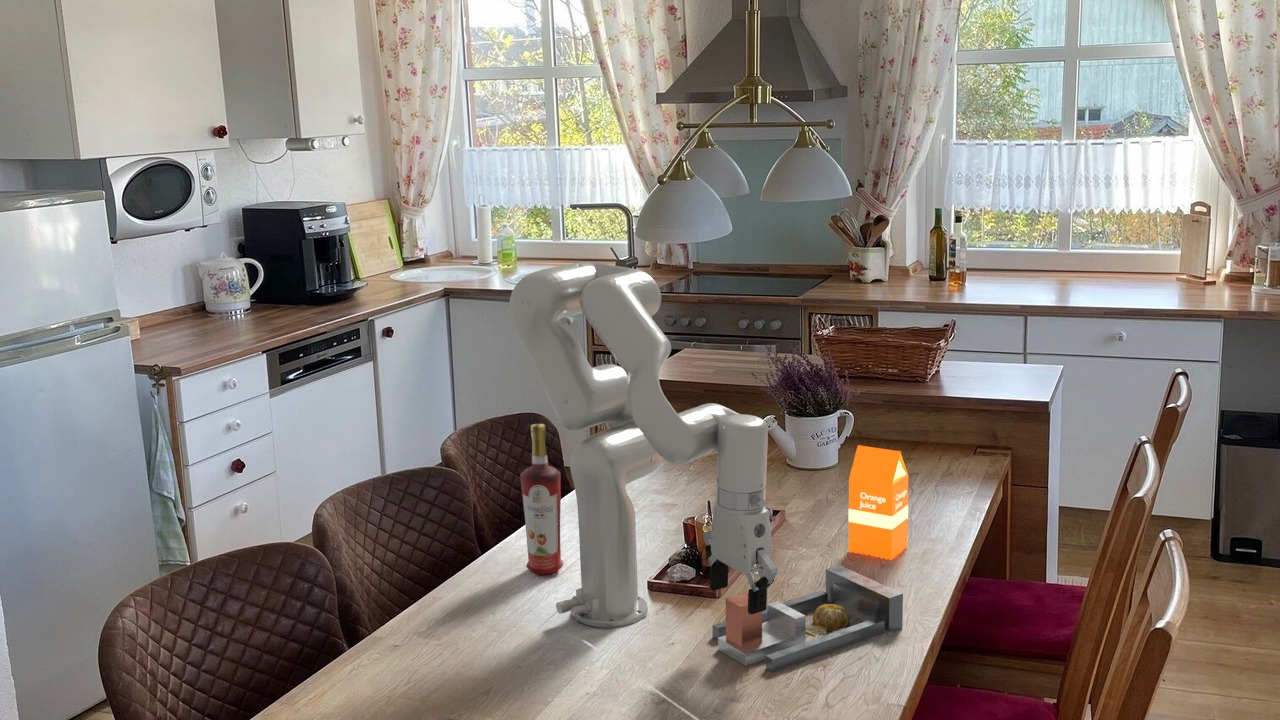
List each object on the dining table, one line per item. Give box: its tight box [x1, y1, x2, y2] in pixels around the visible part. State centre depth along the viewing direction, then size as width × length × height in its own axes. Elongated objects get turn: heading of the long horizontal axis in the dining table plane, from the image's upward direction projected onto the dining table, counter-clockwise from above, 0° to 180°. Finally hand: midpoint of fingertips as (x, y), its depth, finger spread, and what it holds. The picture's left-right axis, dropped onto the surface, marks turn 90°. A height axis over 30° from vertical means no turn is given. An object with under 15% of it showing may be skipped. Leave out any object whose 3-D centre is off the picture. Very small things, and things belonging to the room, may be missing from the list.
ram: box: [717, 592, 807, 667], centre depth 194 cm, size 12×7×9 cm, turn 123°
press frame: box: [712, 564, 904, 673], centre depth 199 cm, size 27×15×6 cm, turn 123°
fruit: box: [806, 603, 850, 637], centre depth 201 cm, size 8×8×4 cm
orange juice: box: [848, 444, 909, 561], centre depth 232 cm, size 8×9×20 cm
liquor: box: [519, 423, 564, 577], centre depth 226 cm, size 7×7×28 cm
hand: (737, 599), depth 192 cm, fingers open, 9 cm apart
